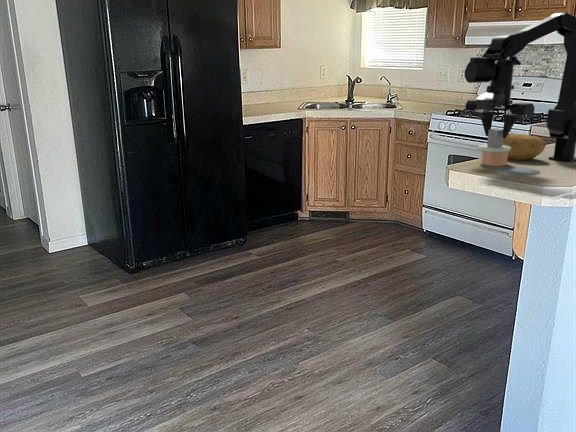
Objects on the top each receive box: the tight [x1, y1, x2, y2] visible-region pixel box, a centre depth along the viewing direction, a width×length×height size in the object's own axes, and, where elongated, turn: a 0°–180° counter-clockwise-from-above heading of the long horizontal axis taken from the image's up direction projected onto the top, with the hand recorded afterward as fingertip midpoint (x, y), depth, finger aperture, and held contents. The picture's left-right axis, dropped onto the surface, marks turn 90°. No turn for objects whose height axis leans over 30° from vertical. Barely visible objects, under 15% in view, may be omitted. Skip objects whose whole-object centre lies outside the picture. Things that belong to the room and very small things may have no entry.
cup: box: [479, 150, 509, 167], centre depth 163 cm, size 7×7×4 cm
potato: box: [502, 132, 546, 161], centre depth 169 cm, size 10×14×8 cm
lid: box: [477, 128, 511, 152], centre depth 161 cm, size 9×9×6 cm
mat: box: [497, 166, 542, 176], centre depth 153 cm, size 11×11×1 cm
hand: (495, 137), depth 161 cm, fingers open, 5 cm apart
